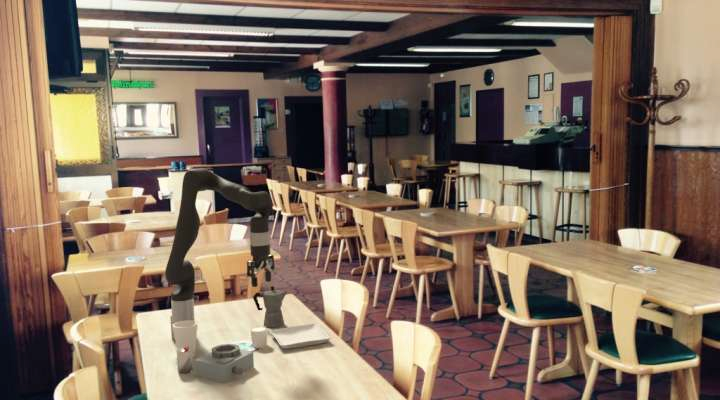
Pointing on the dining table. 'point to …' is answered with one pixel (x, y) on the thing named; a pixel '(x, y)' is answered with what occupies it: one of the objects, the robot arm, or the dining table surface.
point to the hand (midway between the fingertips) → (261, 284)
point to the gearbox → (224, 363)
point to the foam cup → (185, 334)
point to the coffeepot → (271, 307)
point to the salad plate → (300, 336)
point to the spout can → (184, 360)
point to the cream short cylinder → (259, 337)
